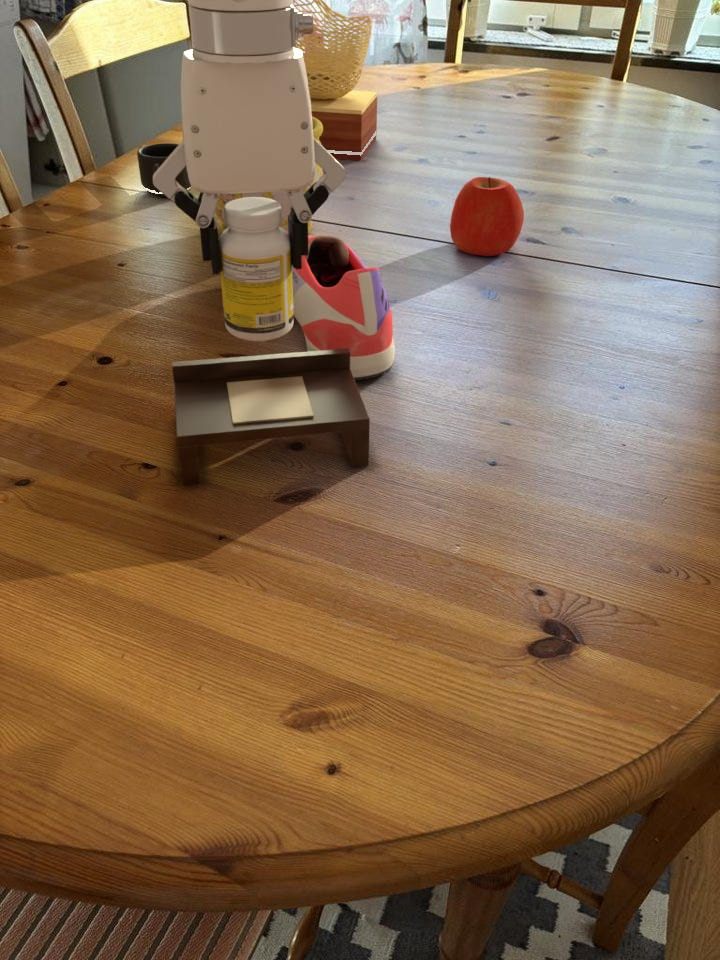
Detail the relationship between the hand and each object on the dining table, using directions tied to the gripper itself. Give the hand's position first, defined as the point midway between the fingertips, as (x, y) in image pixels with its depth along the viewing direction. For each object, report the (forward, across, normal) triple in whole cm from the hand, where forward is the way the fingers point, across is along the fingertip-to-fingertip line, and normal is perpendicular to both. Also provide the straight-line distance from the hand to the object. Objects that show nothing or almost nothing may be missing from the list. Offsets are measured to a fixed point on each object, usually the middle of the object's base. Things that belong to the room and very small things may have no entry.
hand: (255, 263), depth 74 cm
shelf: (+20, -1, -2) cm, 20 cm away
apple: (+20, -38, -50) cm, 66 cm away
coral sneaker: (+20, -9, -29) cm, 37 cm away
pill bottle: (+6, 0, 0) cm, 6 cm away
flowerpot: (+20, -6, -61) cm, 65 cm away
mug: (+20, +9, -82) cm, 85 cm away
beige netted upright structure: (+20, -20, -110) cm, 114 cm away
